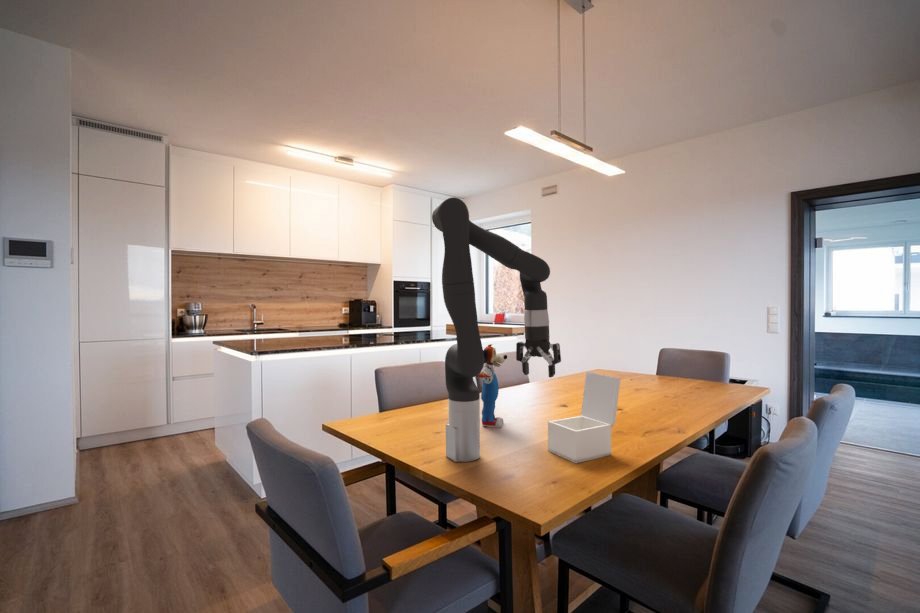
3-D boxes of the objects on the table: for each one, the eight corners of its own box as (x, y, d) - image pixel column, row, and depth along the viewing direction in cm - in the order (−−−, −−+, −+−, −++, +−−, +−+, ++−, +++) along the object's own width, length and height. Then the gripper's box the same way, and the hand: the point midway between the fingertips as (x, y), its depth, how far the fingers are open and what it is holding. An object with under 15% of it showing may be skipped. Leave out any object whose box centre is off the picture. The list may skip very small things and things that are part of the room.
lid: (618, 378, 129) (621, 378, 129) (586, 372, 140) (589, 372, 141) (612, 425, 128) (615, 425, 128) (580, 415, 139) (583, 415, 140)
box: (575, 463, 121) (575, 431, 121) (548, 450, 132) (548, 421, 132) (611, 454, 128) (611, 424, 128) (581, 443, 139) (581, 415, 139)
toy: (502, 439, 143) (502, 349, 143) (472, 437, 145) (472, 348, 145) (511, 413, 176) (511, 340, 176) (486, 412, 178) (486, 340, 178)
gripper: (510, 325, 135) (512, 376, 136) (552, 325, 127) (554, 380, 127) (522, 322, 141) (524, 371, 142) (563, 323, 133) (565, 375, 133)
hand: (538, 375), depth 135 cm, fingers open, 8 cm apart
